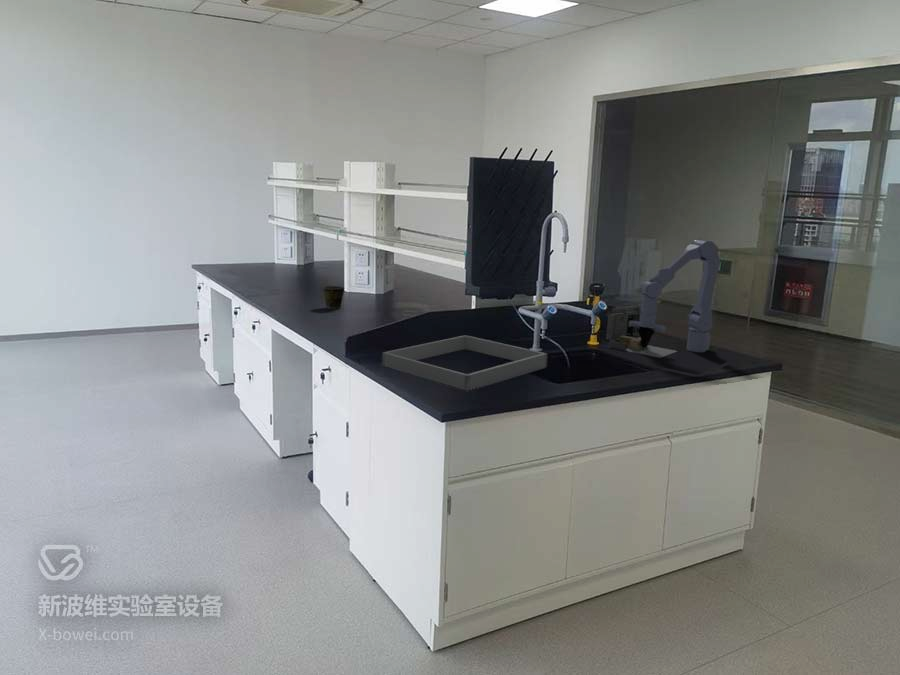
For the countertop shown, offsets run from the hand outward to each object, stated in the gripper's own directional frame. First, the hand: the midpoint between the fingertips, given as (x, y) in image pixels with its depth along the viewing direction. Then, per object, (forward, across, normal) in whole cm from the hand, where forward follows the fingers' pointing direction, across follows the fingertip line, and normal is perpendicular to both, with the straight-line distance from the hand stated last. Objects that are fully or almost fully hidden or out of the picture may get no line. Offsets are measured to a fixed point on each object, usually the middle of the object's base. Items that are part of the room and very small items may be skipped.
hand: (644, 346), depth 274 cm
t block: (+1, -6, 0) cm, 6 cm away
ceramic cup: (+2, -143, -38) cm, 148 cm away
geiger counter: (+2, -18, +20) cm, 27 cm away
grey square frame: (+2, -31, -72) cm, 78 cm away
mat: (+2, -1, 0) cm, 2 cm away
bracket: (+1, -8, 0) cm, 8 cm away
